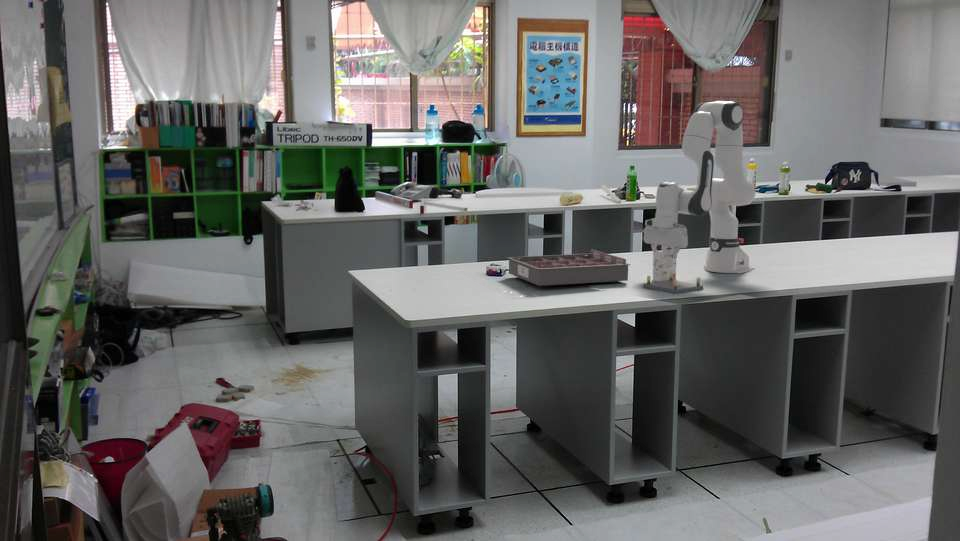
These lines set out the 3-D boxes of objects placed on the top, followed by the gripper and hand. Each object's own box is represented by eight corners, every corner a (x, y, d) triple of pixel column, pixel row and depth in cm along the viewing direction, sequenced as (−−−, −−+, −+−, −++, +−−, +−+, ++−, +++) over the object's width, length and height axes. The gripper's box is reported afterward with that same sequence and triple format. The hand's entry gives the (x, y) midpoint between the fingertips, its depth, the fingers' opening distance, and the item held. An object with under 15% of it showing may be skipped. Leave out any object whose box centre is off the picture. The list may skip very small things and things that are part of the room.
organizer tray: (506, 276, 368) (506, 252, 366) (593, 271, 381) (593, 248, 380) (537, 289, 338) (537, 263, 337) (630, 284, 352) (631, 259, 350)
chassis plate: (670, 283, 353) (671, 272, 353) (703, 289, 341) (703, 277, 340) (643, 287, 344) (643, 275, 343) (675, 293, 331) (676, 281, 330)
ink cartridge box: (667, 278, 364) (668, 243, 362) (676, 280, 360) (677, 244, 358) (651, 280, 360) (653, 244, 357) (660, 282, 356) (662, 245, 353)
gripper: (692, 224, 350) (690, 259, 352) (652, 220, 366) (651, 253, 368) (681, 225, 346) (680, 260, 348) (641, 220, 362) (640, 254, 364)
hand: (664, 256), depth 358 cm, fingers open, 8 cm apart
